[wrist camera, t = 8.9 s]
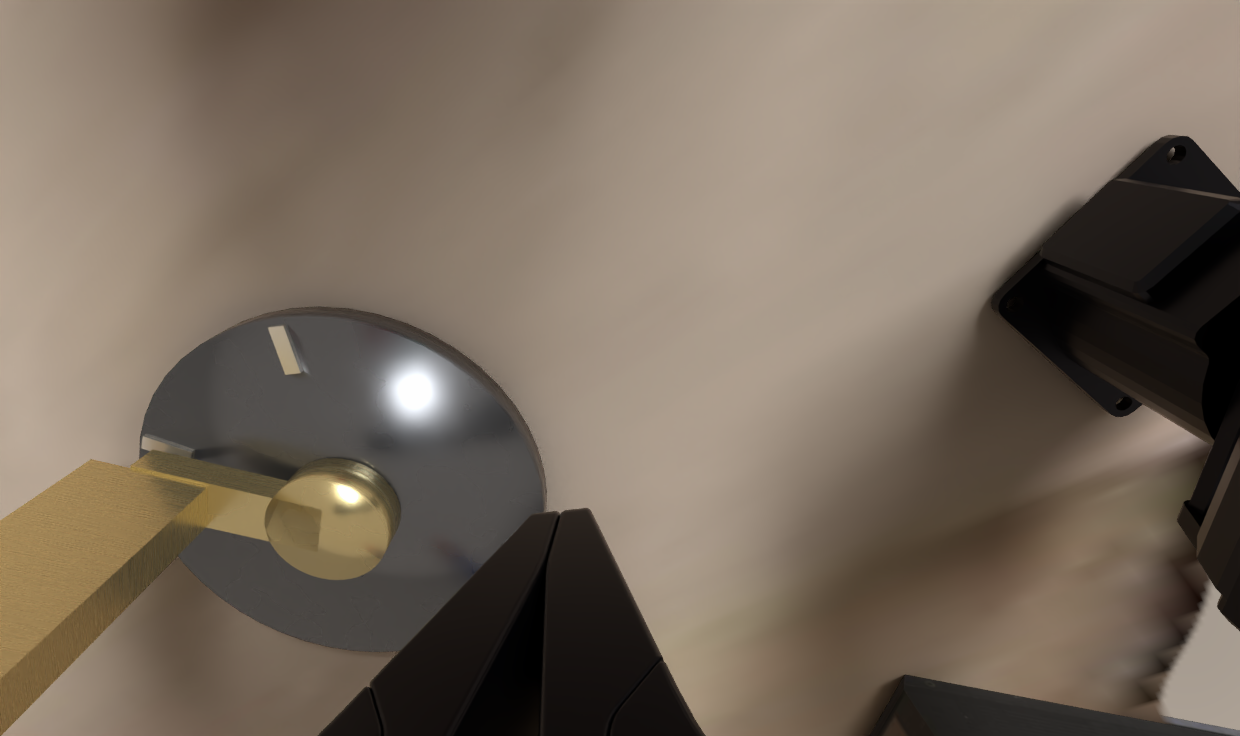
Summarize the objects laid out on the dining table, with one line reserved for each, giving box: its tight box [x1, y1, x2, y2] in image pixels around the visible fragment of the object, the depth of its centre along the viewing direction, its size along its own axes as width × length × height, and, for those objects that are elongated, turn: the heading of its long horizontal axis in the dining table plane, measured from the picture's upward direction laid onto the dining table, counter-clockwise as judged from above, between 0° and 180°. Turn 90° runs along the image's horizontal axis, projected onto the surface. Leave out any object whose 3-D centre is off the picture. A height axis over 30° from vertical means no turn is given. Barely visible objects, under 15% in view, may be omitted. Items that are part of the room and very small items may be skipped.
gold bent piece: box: [0, 449, 401, 736], centre depth 17 cm, size 9×4×9 cm, turn 74°
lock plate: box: [139, 307, 547, 652], centre depth 22 cm, size 14×14×1 cm
